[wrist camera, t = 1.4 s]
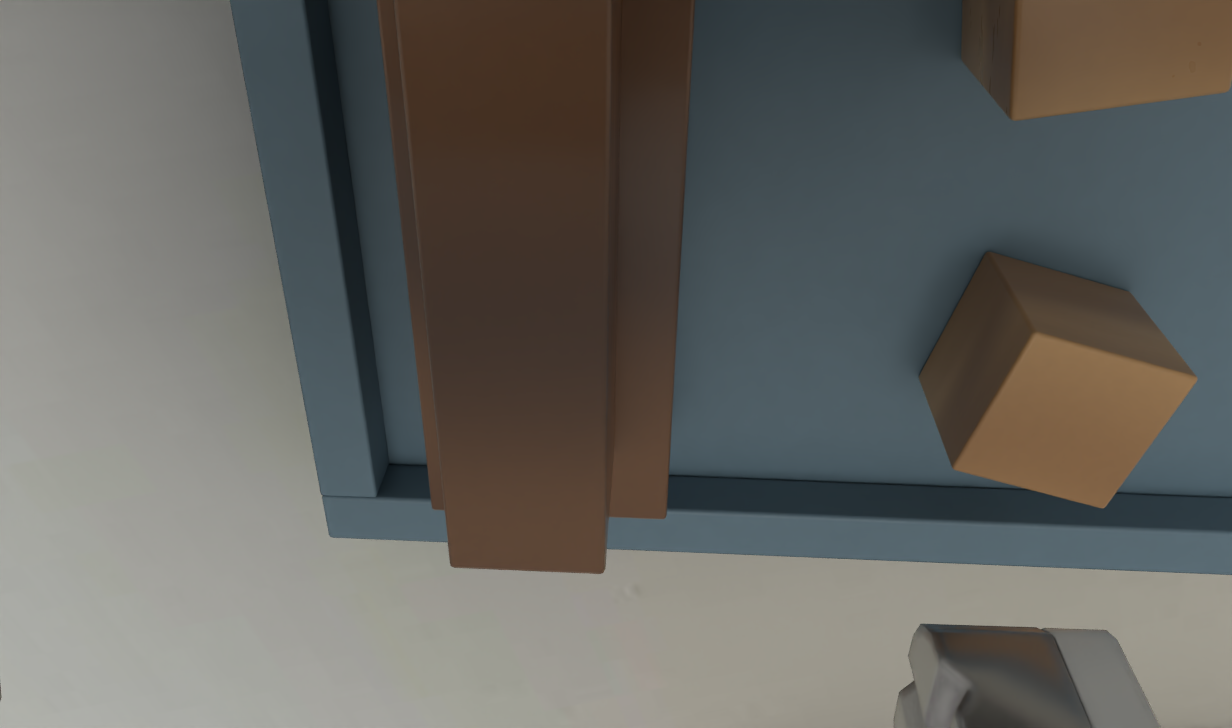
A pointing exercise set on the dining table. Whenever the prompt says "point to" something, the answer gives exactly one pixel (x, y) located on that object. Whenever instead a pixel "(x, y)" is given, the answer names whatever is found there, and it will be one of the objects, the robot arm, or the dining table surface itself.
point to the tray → (790, 285)
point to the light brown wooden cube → (1095, 52)
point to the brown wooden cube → (1051, 381)
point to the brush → (541, 262)
